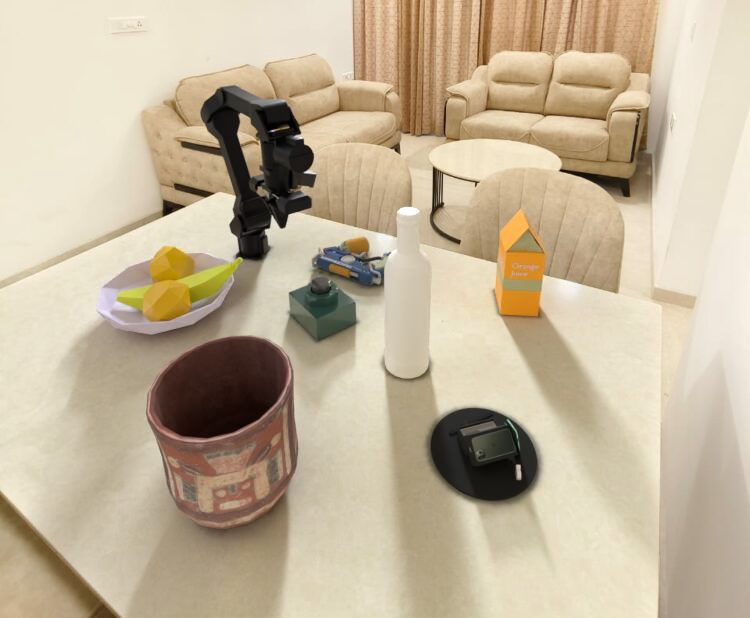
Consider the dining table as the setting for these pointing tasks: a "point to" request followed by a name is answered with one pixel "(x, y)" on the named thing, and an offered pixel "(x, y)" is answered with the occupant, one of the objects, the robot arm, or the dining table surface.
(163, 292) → the fruit bowl
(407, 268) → the bottle
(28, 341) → the dining table surface
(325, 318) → the button housing
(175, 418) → the pottery
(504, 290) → the orange juice
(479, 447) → the black round electronic device
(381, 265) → the blue toy blaster
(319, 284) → the dark grey button cap
